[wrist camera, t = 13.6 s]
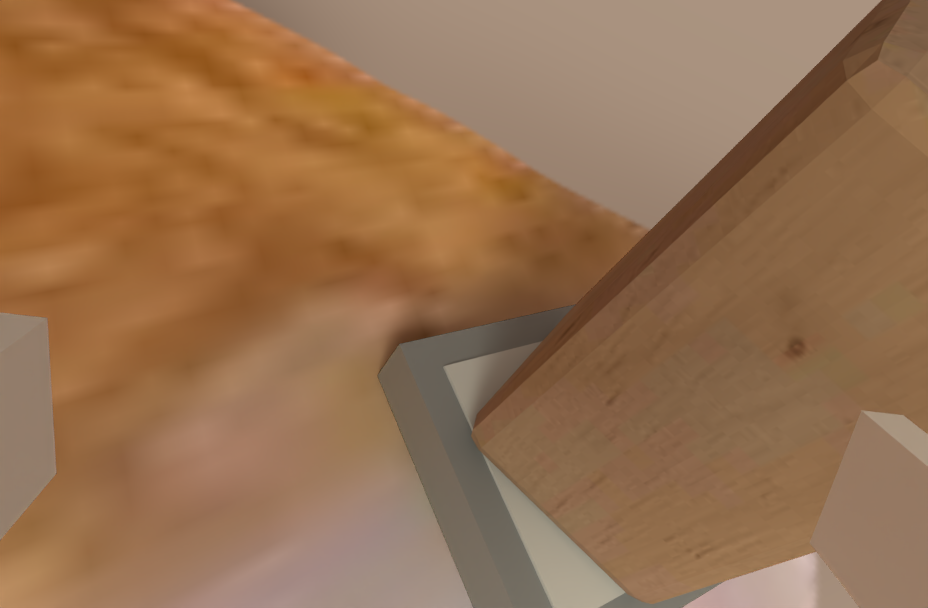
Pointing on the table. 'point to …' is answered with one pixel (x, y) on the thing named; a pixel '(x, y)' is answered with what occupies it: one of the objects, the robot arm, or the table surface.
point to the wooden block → (741, 336)
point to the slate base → (490, 473)
